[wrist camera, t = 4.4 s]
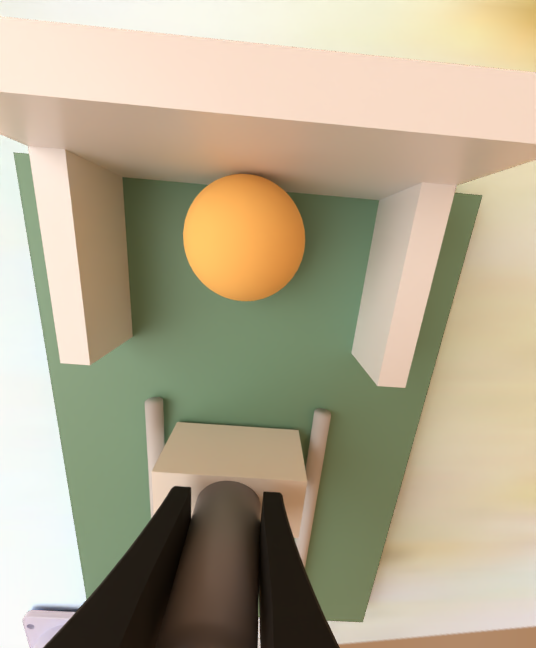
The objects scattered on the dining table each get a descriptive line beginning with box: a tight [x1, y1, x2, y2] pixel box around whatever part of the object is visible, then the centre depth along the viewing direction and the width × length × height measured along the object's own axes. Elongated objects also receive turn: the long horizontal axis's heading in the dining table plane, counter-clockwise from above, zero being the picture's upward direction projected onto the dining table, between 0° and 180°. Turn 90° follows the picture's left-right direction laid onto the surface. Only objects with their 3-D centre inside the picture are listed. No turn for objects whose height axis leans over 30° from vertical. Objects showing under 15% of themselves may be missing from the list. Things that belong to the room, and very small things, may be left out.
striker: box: [151, 422, 307, 648], centre depth 10 cm, size 3×6×7 cm, turn 85°
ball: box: [183, 174, 305, 301], centre depth 9 cm, size 4×4×4 cm
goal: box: [0, 17, 536, 388], centre depth 8 cm, size 8×12×6 cm, turn 85°
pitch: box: [13, 152, 482, 622], centre depth 14 cm, size 26×18×2 cm
